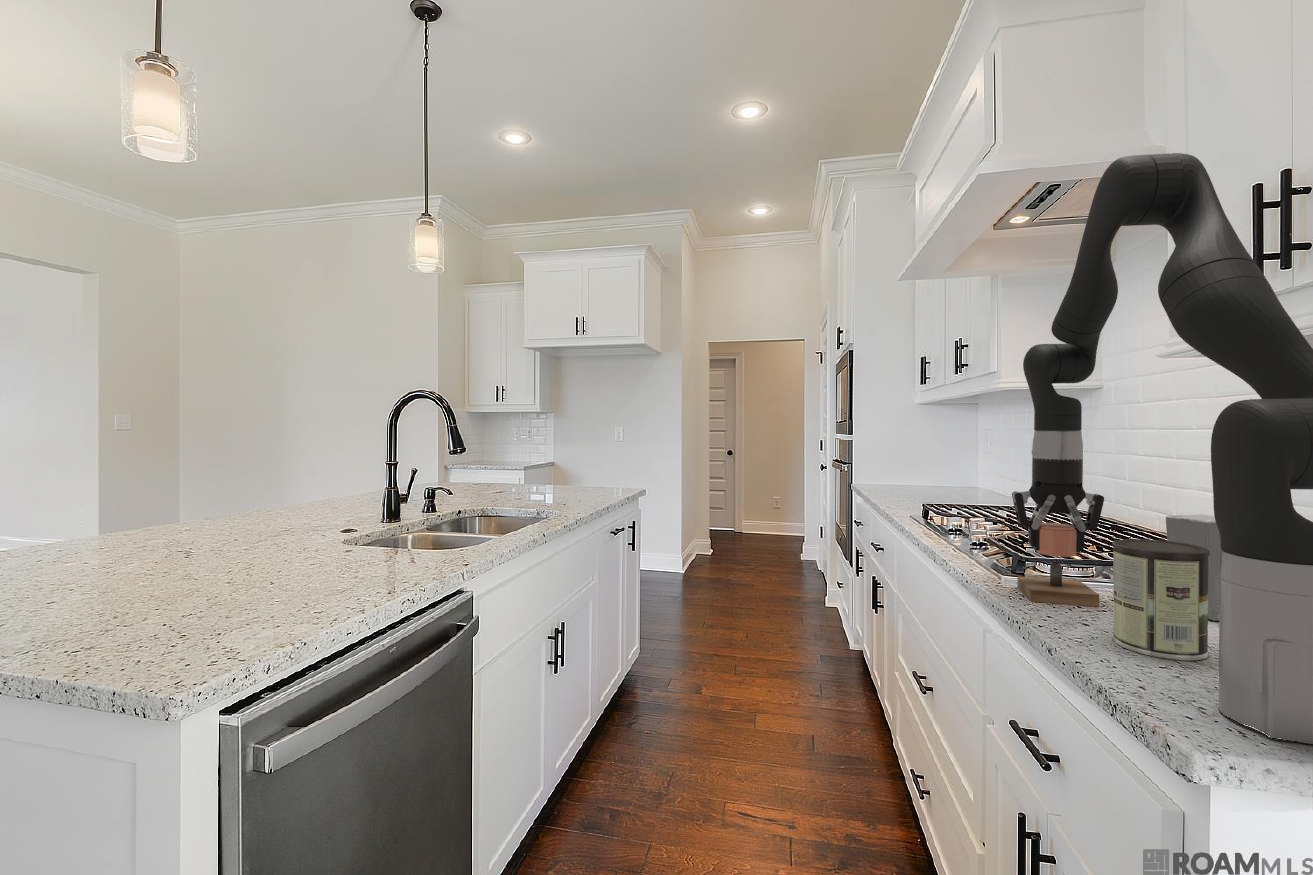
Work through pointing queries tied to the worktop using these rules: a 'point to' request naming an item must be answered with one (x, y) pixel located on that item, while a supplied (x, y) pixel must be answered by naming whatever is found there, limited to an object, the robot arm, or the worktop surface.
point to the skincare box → (1204, 535)
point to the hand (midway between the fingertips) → (1056, 550)
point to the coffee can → (1161, 598)
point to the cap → (1057, 539)
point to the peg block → (1057, 589)
